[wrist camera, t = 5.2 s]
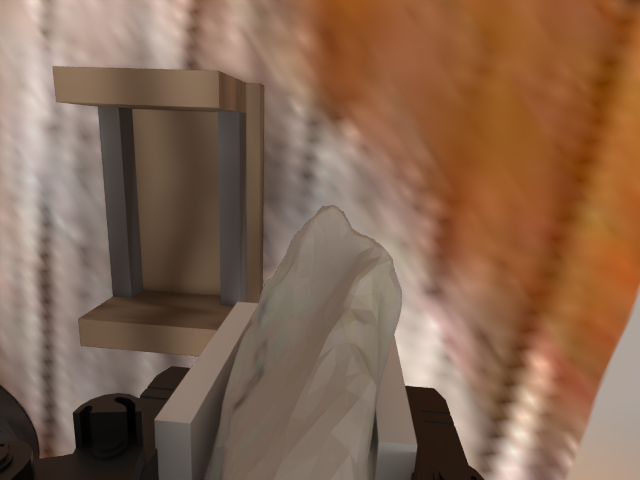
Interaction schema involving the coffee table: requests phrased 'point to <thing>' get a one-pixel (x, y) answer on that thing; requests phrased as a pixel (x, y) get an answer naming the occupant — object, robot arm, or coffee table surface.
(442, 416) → the robot arm
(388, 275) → the stone tool
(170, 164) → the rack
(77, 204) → the coffee table surface
